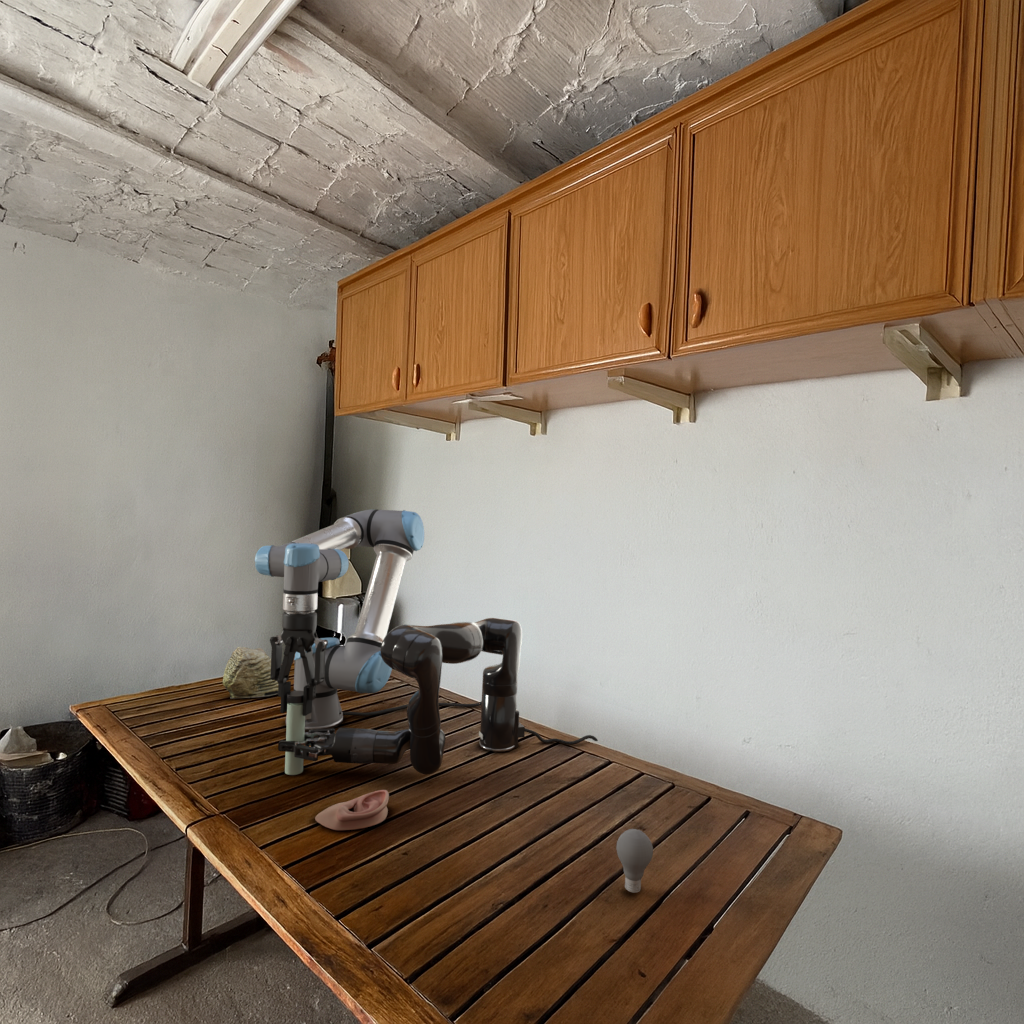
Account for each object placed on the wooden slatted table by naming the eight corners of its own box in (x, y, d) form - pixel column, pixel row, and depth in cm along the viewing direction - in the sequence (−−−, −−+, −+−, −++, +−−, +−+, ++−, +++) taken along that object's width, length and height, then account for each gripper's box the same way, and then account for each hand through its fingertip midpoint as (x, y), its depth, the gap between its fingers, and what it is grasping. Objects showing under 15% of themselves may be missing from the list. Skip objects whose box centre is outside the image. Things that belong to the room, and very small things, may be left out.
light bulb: (610, 879, 108) (613, 822, 108) (644, 879, 109) (647, 822, 109) (619, 902, 102) (622, 840, 102) (655, 901, 103) (658, 840, 103)
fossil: (218, 695, 195) (220, 647, 195) (278, 685, 208) (279, 640, 207) (228, 703, 189) (230, 653, 188) (289, 692, 201) (290, 645, 201)
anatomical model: (307, 805, 121) (336, 780, 133) (306, 826, 121) (335, 798, 133) (372, 815, 119) (395, 788, 130) (371, 836, 119) (394, 807, 130)
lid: (284, 699, 145) (284, 692, 145) (302, 696, 148) (303, 689, 148) (290, 704, 142) (290, 697, 142) (309, 701, 145) (309, 694, 145)
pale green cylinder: (306, 770, 146) (309, 696, 146) (292, 776, 143) (294, 700, 142) (295, 766, 148) (298, 692, 148) (281, 771, 145) (283, 696, 144)
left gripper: (255, 610, 143) (251, 713, 143) (327, 617, 139) (323, 722, 140) (274, 605, 150) (270, 703, 151) (343, 611, 146) (339, 711, 147)
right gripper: (365, 718, 152) (294, 715, 152) (348, 741, 138) (270, 737, 138) (364, 749, 152) (293, 746, 152) (347, 775, 138) (269, 771, 138)
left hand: (296, 712), depth 145 cm, fingers open, 5 cm apart
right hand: (283, 741), depth 145 cm, fingers closed on pale green cylinder, 4 cm apart
